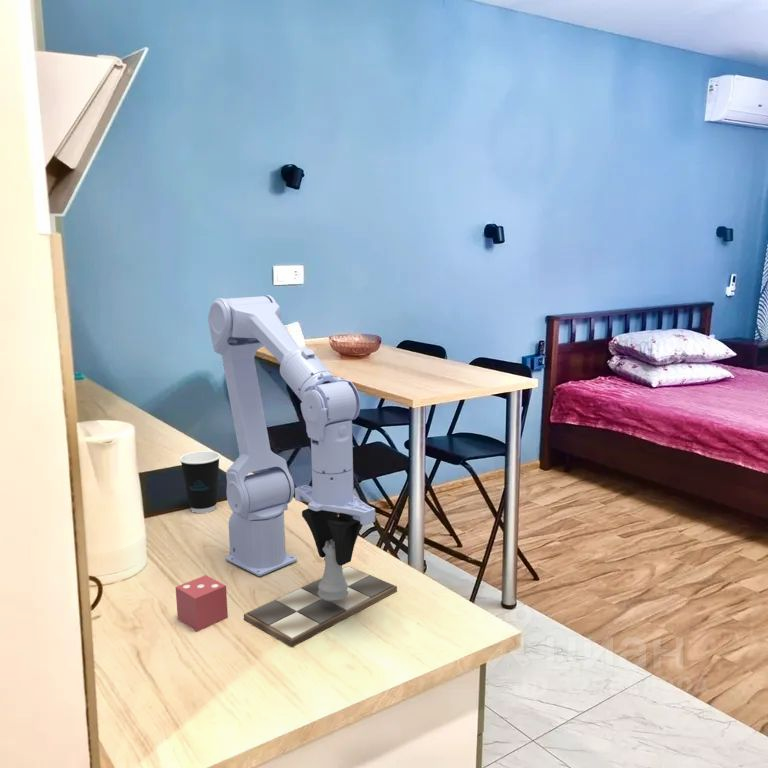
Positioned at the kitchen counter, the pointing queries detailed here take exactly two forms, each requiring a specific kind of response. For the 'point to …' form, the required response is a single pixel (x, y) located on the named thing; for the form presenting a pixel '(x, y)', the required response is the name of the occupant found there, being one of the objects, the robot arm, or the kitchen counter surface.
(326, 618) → the game board
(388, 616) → the kitchen counter surface
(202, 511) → the dixie cup
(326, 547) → the rook chess piece
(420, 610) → the kitchen counter surface
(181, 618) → the die
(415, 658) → the kitchen counter surface
